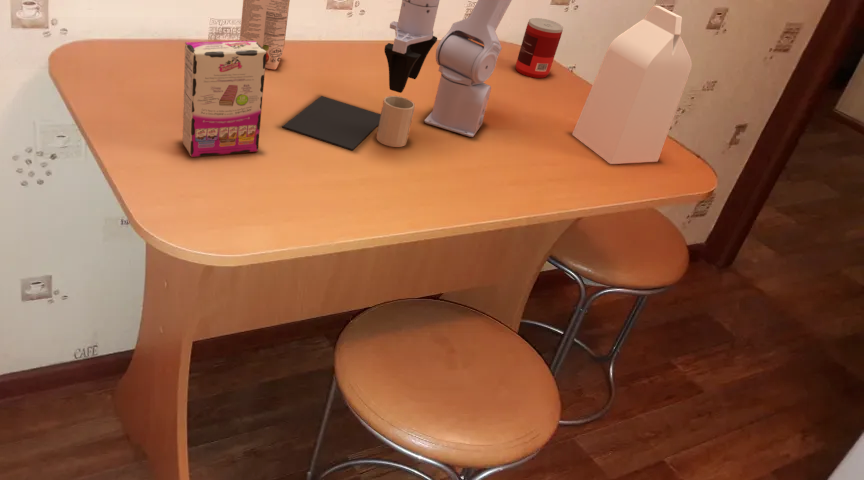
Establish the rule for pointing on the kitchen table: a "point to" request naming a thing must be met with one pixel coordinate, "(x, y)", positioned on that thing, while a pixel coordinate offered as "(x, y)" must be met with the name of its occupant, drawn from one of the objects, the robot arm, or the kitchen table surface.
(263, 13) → the juice carton
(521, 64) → the canned food
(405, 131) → the cream cup
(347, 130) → the placemat
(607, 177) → the kitchen table surface
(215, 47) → the candy bar box
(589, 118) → the milk
